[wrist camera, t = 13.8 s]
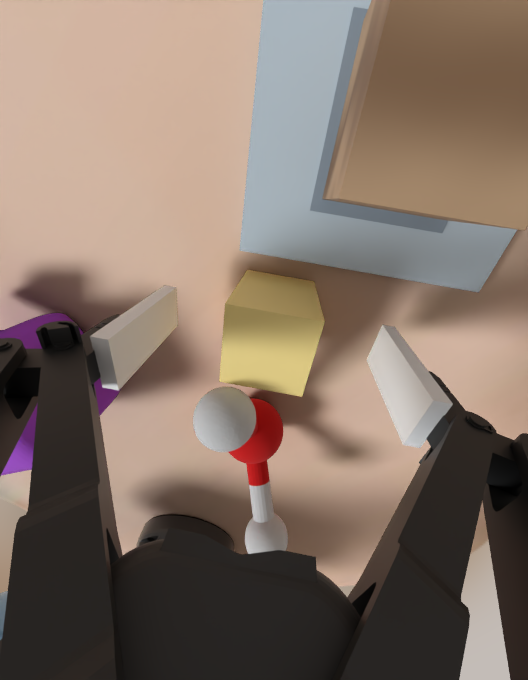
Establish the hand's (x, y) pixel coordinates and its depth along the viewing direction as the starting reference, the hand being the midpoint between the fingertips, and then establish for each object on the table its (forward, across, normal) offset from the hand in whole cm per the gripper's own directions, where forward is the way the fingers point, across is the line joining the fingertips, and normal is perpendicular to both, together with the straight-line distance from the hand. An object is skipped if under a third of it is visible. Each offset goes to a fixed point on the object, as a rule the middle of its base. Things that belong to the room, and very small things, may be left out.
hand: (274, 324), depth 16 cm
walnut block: (+3, -5, -11) cm, 12 cm away
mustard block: (+4, 0, 0) cm, 4 cm away
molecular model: (+4, 0, +11) cm, 12 cm away
